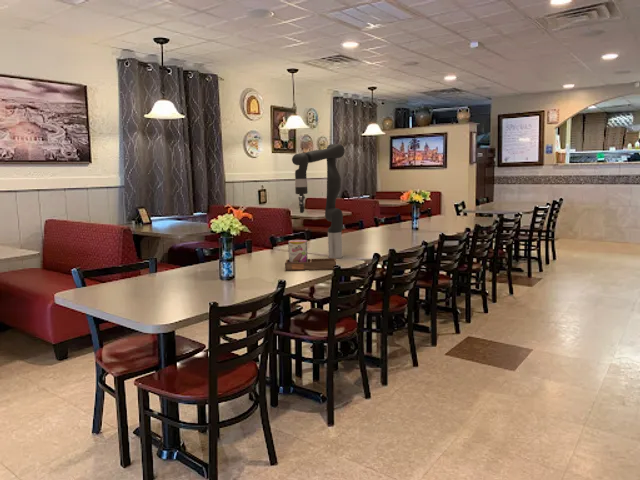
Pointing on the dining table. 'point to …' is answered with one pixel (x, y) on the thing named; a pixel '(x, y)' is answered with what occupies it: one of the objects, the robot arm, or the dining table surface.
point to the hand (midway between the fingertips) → (302, 212)
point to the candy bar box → (298, 251)
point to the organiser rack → (311, 265)
